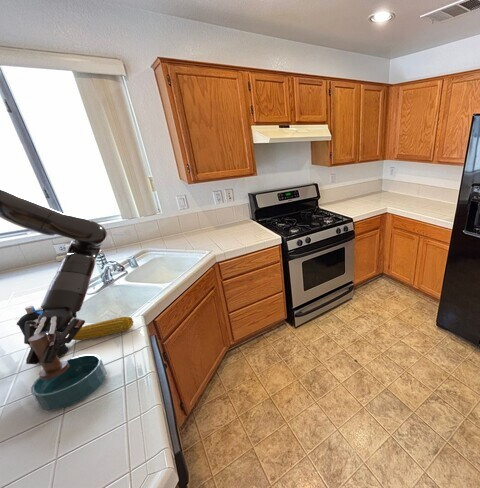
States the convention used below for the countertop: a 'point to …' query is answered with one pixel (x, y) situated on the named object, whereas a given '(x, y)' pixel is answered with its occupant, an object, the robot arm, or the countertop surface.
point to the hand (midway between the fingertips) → (39, 363)
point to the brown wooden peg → (39, 347)
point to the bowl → (70, 383)
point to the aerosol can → (32, 316)
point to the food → (104, 328)
